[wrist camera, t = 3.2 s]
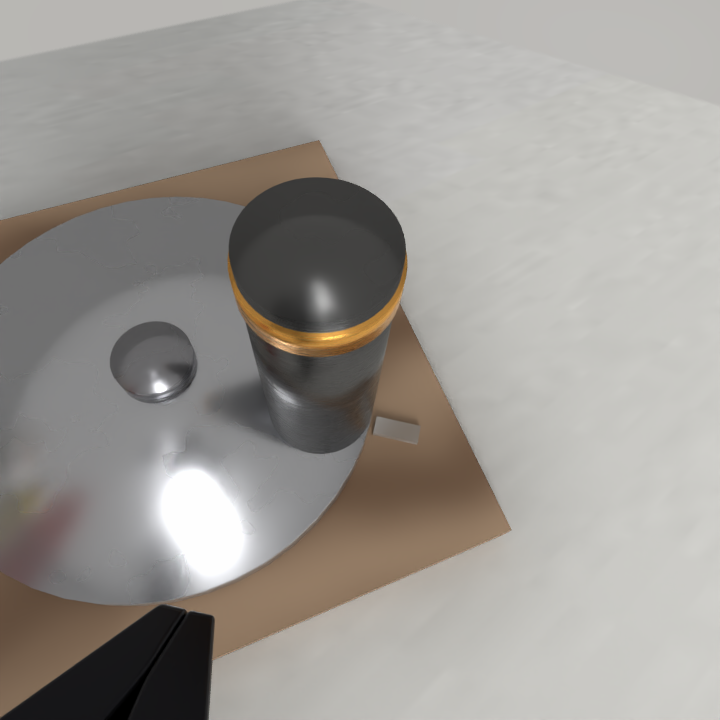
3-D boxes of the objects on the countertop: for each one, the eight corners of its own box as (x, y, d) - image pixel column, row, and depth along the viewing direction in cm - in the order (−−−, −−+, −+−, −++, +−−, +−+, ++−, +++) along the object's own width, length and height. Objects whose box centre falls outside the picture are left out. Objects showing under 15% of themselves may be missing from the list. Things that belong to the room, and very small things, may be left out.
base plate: (502, 534, 23) (513, 528, 21) (-70, 782, 18) (-101, 794, 17) (319, 157, 31) (319, 135, 29) (-110, 268, 26) (-134, 248, 25)
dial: (-154, 544, 20) (-641, 456, 10) (57, 182, 27) (-99, -80, 17) (321, 658, 19) (317, 689, 9) (408, 256, 27) (459, 26, 17)
